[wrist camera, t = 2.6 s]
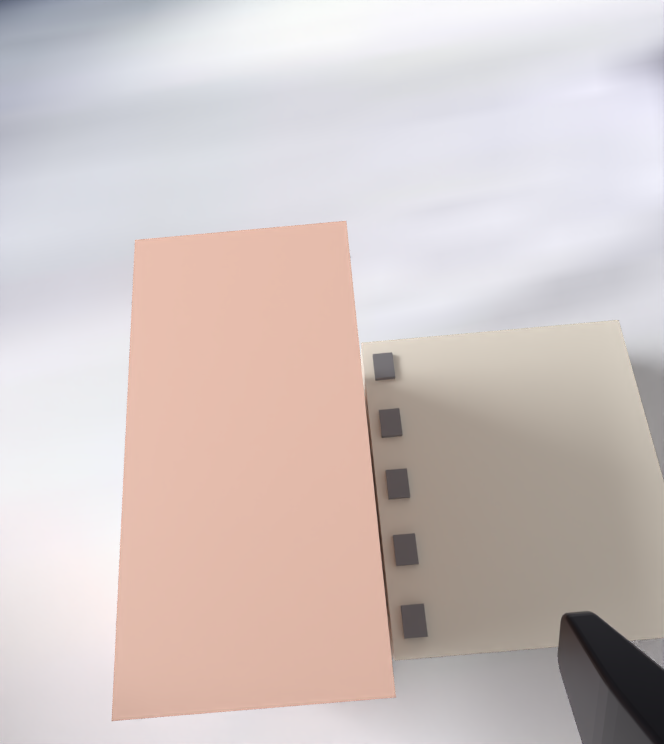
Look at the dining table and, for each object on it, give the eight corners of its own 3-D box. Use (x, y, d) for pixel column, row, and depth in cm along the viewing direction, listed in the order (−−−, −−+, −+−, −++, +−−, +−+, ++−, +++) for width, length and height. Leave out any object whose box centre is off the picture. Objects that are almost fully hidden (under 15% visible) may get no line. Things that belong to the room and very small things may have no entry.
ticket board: (662, 632, 18) (711, 634, 16) (390, 655, 18) (395, 661, 16) (590, 352, 21) (621, 316, 19) (361, 372, 22) (361, 340, 19)
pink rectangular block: (377, 657, 18) (395, 697, 9) (239, 668, 18) (112, 720, 9) (352, 398, 21) (346, 221, 12) (234, 408, 21) (134, 240, 12)
